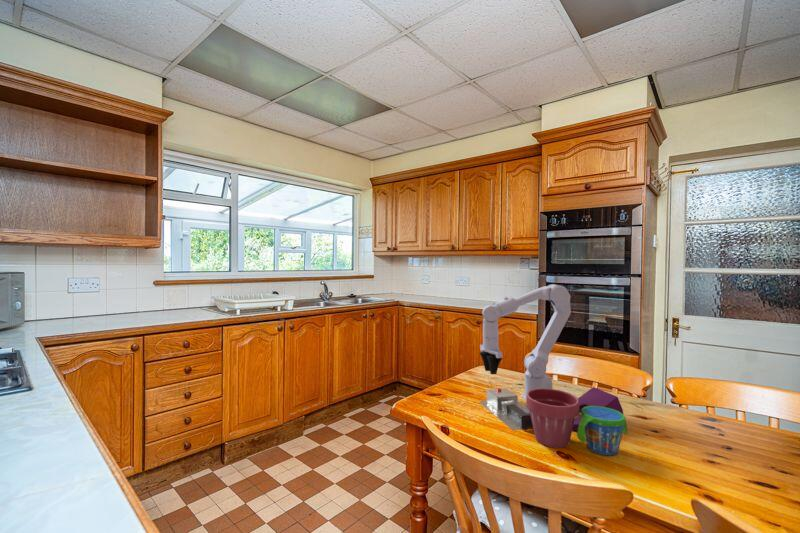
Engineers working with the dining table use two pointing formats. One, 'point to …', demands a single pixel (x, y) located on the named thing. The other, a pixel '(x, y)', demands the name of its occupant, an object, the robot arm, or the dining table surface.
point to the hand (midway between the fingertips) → (490, 372)
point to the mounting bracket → (597, 402)
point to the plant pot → (552, 415)
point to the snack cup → (602, 429)
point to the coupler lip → (511, 415)
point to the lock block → (501, 397)
